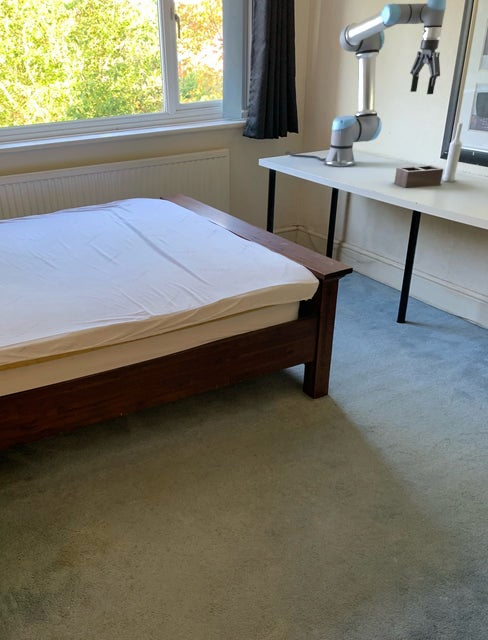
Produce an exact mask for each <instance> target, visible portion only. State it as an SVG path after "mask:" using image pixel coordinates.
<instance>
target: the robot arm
mask: <svg viewBox="0 0 488 640" xmlns="http://www.w3.org/2000/svg"><path fill="white" fill-rule="evenodd" d="M446 5H447V0H427V3H388V4H386V5H385V6H384V7H383V8H382V11H379V12H378V13H375V14H373V15H371V16H369V17H367V18H365V19H364V20H361V21H359V22H353V23H350V24H349V25H346V26H345V27H344V28H343V29H342V30H341V33H340V35H339V43H340V46H341V47H342V49H343V50H345V51H346V52H350V53H355V58H356V59H357V62H358V63H357V64H358V67H357V107H356V108H357V111H356V113H354V115H342V116H338V117H336V118H334V119H333V121H332V127H331V137H330V146H329V151H328V153H327V156H326V157H324V158H323V157H322V158H321V157H319V156H317V155H310V154H309V155H308V154H293V153H291V152H290V151H288V150H287V151H286V152H285V153H284V154H285V155H289V157H299V158H300V157H301V158H313V159H318V160H319V161H324V162H325V163H324V164H325V165H326V166H330V167H336V168H337V167H339V168H341V167H343V168H344V167H351V166H354V165H355V156H354V151H353V147H354V143H362V142H370V141H375V140H376V139H377V138H378V137H379V135H380V133H381V131H382V124H383V123H382V120H381V118H380V117H379V116H378V112H377V110H375V102H376V101H375V100H376V99H375V98H376V95H375V94H376V65H377V64H376V63H377V57H378V55H380V51H381V50H382V48H383V47H384V44H385V30H387V29H389V28H391V27H393V26H396V25H417V24H420V25H421V24H423V30H422V36H421V39H422V40H421V42H420V46H419V47H420V48H419V49H420V50H421V51H417V53H416V57H415V60H414V62H413V65H412V66H411V70H410V72H409V73H410V75H411V76H412V78H411V86H410V91H409V92H410V93H416V92H418V91H417V90H418V84H419V78H420V72H421V71H422V69H423V67H424V66H425V64H426V65H428V70H429V74H430V76H429V79H428V85H427V90H426V95H434V92H435V91H434V90H435V86H436V81H437V78H438V77H441V65H440V51H436V50H438V49H439V45H440V38H441V36H442V30H443V29H442V27H443V22H444V17H445V13H446V9H447V8H446V7H447V6H446Z"/></svg>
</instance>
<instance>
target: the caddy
mask: <svg viewBox="0 0 488 640" xmlns="http://www.w3.org/2000/svg"><path fill="white" fill-rule="evenodd" d="M443 173H444V168H441V167H439V166H435V165H432V164H431V165H430V164H429V165H415V166H403V167H402V166H401V167H396V171H395V176H394V184H395V185H398V186H400V187H402V188H405V189H407V188H409V189H410V188H419V187H420V188H421V187H432V186H440V185H441V184H442V180H443Z"/></svg>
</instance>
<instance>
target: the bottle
mask: <svg viewBox="0 0 488 640" xmlns="http://www.w3.org/2000/svg"><path fill="white" fill-rule="evenodd" d="M463 125H464V123H463V122H458V123H457V126H456V132H455V136H454V139H453V140H452V141H451V142H450V143H449V148H448V153H447V159H446V164H445V169H444V175H443V176H442V180H443V181H444V182H448V183H449V182H454V181H455V179H456V172H457V168H458V164H459V159H460V155H461V150H462V146H463V143H462V141H461V139H460V138H461V134H462V129H463Z"/></svg>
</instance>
